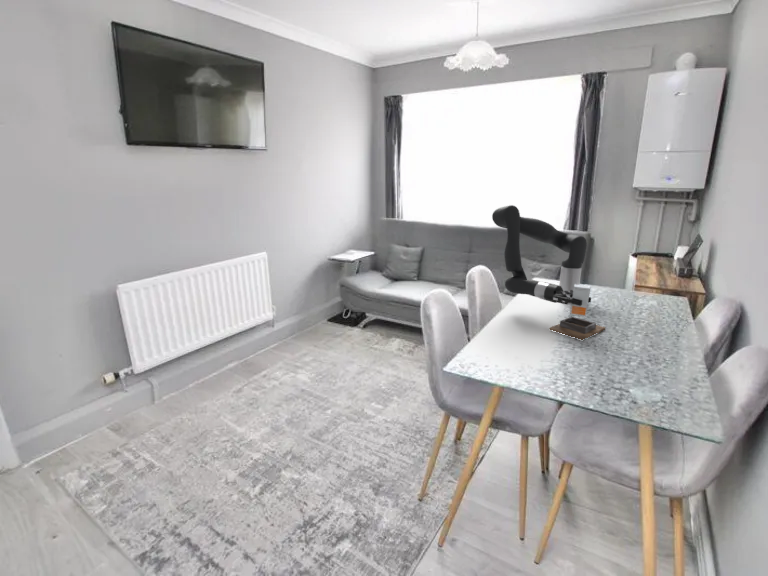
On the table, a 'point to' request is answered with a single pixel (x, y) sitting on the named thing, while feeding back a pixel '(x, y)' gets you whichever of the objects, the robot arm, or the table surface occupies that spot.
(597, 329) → the holder
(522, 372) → the table surface
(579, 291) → the skincare box
